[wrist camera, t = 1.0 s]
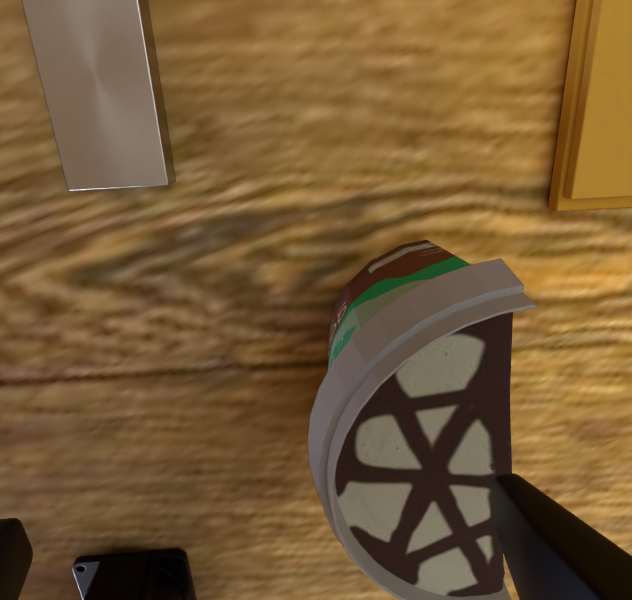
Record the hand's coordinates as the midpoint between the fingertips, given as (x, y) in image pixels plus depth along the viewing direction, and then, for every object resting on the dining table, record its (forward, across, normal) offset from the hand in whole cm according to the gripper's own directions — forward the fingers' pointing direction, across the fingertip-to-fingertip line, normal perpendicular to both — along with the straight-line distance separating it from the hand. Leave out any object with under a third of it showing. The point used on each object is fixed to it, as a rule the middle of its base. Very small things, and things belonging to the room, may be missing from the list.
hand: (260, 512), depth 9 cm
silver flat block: (+13, +6, -9) cm, 17 cm away
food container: (+14, -4, +3) cm, 14 cm away
